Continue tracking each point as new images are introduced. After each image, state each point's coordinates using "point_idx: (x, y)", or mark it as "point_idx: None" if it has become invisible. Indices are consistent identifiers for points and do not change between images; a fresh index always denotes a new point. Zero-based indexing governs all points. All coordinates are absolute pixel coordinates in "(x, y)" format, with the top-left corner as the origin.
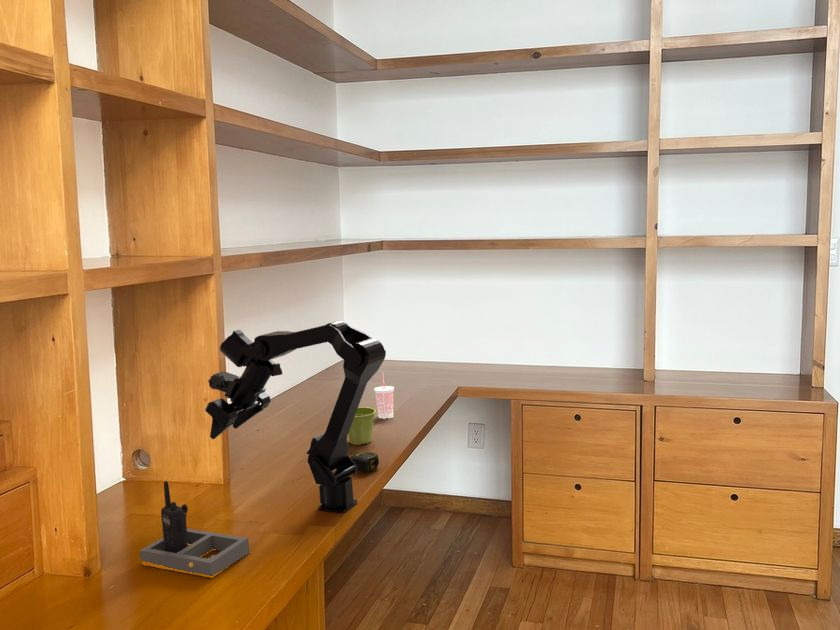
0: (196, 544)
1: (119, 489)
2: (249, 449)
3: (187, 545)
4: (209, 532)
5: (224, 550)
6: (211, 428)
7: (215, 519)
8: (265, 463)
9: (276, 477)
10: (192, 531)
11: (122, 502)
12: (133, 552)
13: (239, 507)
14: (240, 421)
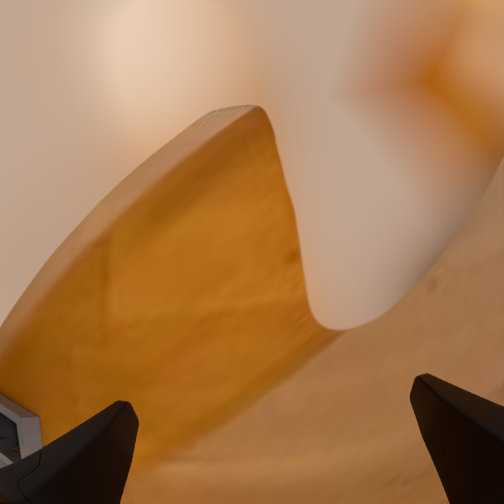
0: (6, 462)
1: (219, 125)
2: (500, 213)
3: (5, 448)
4: None
5: None
6: (63, 437)
7: None
8: (474, 316)
9: (408, 426)
10: (20, 444)
11: (157, 176)
12: (9, 356)
13: (187, 466)
14: (439, 447)
